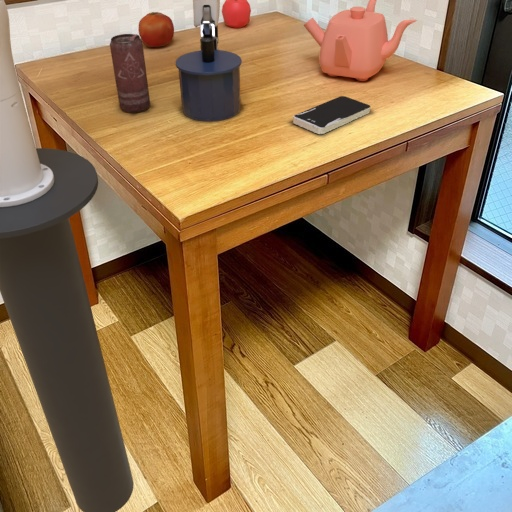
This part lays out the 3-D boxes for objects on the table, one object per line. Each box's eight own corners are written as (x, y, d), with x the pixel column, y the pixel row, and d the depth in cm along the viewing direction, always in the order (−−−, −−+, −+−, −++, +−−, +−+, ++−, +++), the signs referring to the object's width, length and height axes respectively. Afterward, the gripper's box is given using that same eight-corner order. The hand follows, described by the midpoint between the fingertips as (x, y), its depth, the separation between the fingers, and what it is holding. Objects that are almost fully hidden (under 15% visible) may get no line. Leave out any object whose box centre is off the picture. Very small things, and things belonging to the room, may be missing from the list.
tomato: (147, 53, 147) (143, 19, 142) (135, 42, 154) (130, 10, 149) (182, 47, 151) (179, 14, 146) (168, 37, 157) (165, 5, 152)
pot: (205, 126, 114) (202, 78, 108) (171, 108, 121) (166, 61, 115) (252, 109, 119) (251, 63, 114) (216, 93, 127) (214, 48, 121)
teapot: (369, 53, 145) (375, -7, 137) (409, 80, 131) (418, 14, 123) (300, 63, 140) (302, 1, 132) (333, 91, 126) (338, 24, 118)
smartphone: (372, 106, 117) (321, 129, 109) (371, 112, 118) (320, 135, 110) (342, 95, 122) (291, 116, 114) (342, 101, 122) (290, 123, 114)
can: (157, 105, 122) (149, 35, 113) (136, 116, 118) (126, 44, 109) (135, 99, 125) (125, 30, 116) (113, 109, 120) (102, 39, 112)
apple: (216, 26, 164) (214, -5, 159) (235, 19, 169) (234, -11, 164) (238, 31, 160) (237, 0, 155) (257, 24, 165) (256, -6, 160)
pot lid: (201, 83, 107) (199, 55, 104) (163, 65, 115) (160, 38, 112) (255, 67, 114) (254, 39, 111) (215, 50, 121) (213, 25, 118)
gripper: (189, -46, 122) (194, 39, 132) (183, -28, 108) (189, 65, 118) (225, -47, 122) (228, 38, 132) (224, -29, 108) (227, 65, 119)
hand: (210, 51), depth 125 cm, fingers open, 9 cm apart
